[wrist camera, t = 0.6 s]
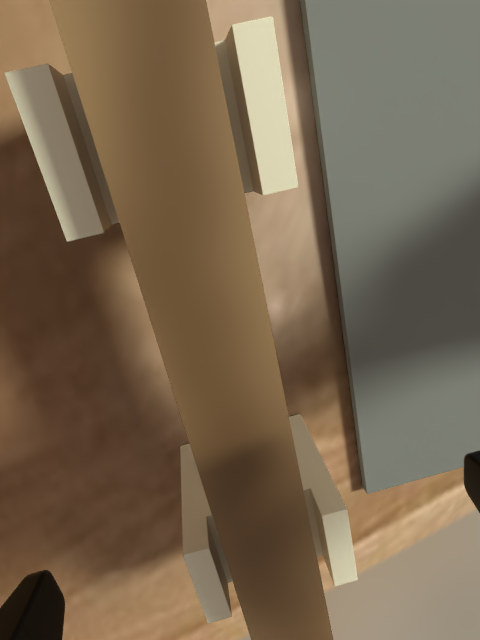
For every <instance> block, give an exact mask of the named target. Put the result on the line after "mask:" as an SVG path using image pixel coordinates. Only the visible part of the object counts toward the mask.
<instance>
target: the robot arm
mask: <svg viewBox="0 0 480 640" xmlns="http://www.w3.org/2000/svg"><path fill="white" fill-rule="evenodd" d="M464 485H465V489H466V491H467V493H468V495H469V497H470V498H471V500H472V501H473V503H474V505H475V506H476V508H477V509H478V511H479V513H480V450H479V451H475V452H472V453H468V454H466V455H465V457H464ZM64 612H65V601H64V596H63V594H62V592H61V590H60V588H59V586H58V585H57V583H56V581H55V579H54V577H53V575H52V574H51V572H50V571H48V570H43V571H39V572H36V573H32V574H29V575H27V576H26V577H25V578H24V579H23V580H22V581H21V583H20V584H19V585H18V586H17V588H16V589H15V590H14V591H13V593H12V594H11V595H10V597H9V598H8V599H7V600H6V602H5V603H4V604H3V605H2V607H1V608H0V640H62V635H63V624H64Z"/></svg>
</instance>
